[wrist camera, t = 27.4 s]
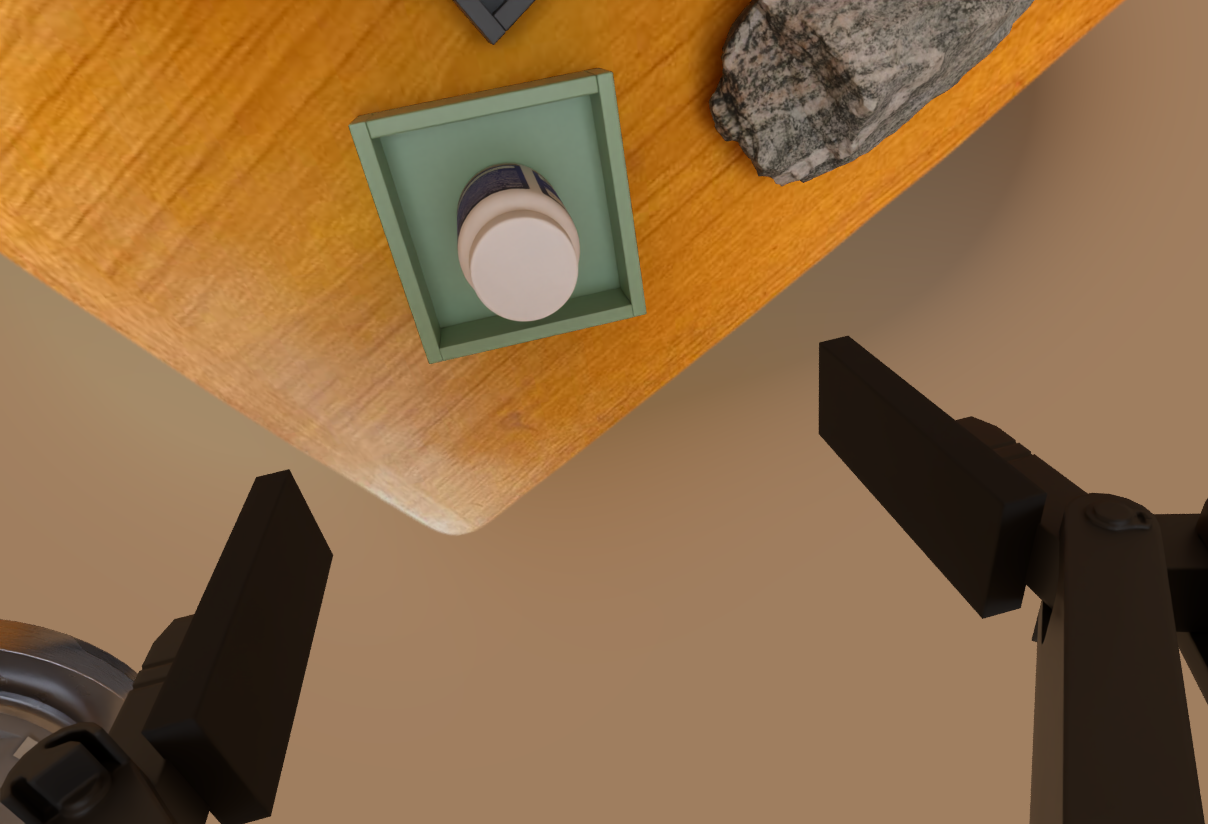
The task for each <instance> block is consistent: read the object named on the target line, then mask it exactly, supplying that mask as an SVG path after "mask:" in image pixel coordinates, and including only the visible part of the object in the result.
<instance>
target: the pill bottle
mask: <svg viewBox="0 0 1208 824" xmlns="http://www.w3.org/2000/svg"><path fill="white" fill-rule="evenodd" d="M457 248H458V257H459V262H460V266H461V269H462V271H463V274H464V276H465V278H466V280H467V281H468V283H469V284H470V285H471V287H472V288H473V289H474V290H475V292H476V294H477V296H478V297H479V299H480V300H481V301H482V302H483V304H484V305H485V306H486V307H487V308H488V309H490V310H491V311H492V312H494V313H495V314H497V315H499V316H501V317H503V318H506V319H510V320H514V321H534V320H538V319H542V318H545V317H547V316H549V315H551V314H552V313H554V312H556V311H557V310H558V309H559V308H561V307H562V306H563V305H564V304H565V303H566V301H567V300H568V299H569V297H570V296H571V294H572V292H573V291H574V288H575V285H576V282H577V278H578V263H579V257H580V243H579V237H578V233H577V230H576V227H575V225H574V223H573V220H572V218H571V217H570V215H569V213H568V212H567V210H566V208H565V206H564V205H563V203H562V201H561V200H560V198H559V196H558V195H557V193H556V191H555V190H554V188H553V187H552V185H551V184H550V183H549V182H548V181H547V180H546V179H545V178H544V177H543V176H542V175H541V174H539V173H538V172H537V171H535V170H533V169H531V168H529V167H527V166H524V165H520V164H516V163H500V164H495V165H492V166H489V167H487V168H485V169H483V170H481V171H480V172H478V173H477V174H476V175H474V176H473V177H472V178H471V179H470V180H469V182H468V183H467V184H466V186H465V187H464V189H463V191H462V193H461V196H460V199H459V202H458V207H457Z"/></svg>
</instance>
